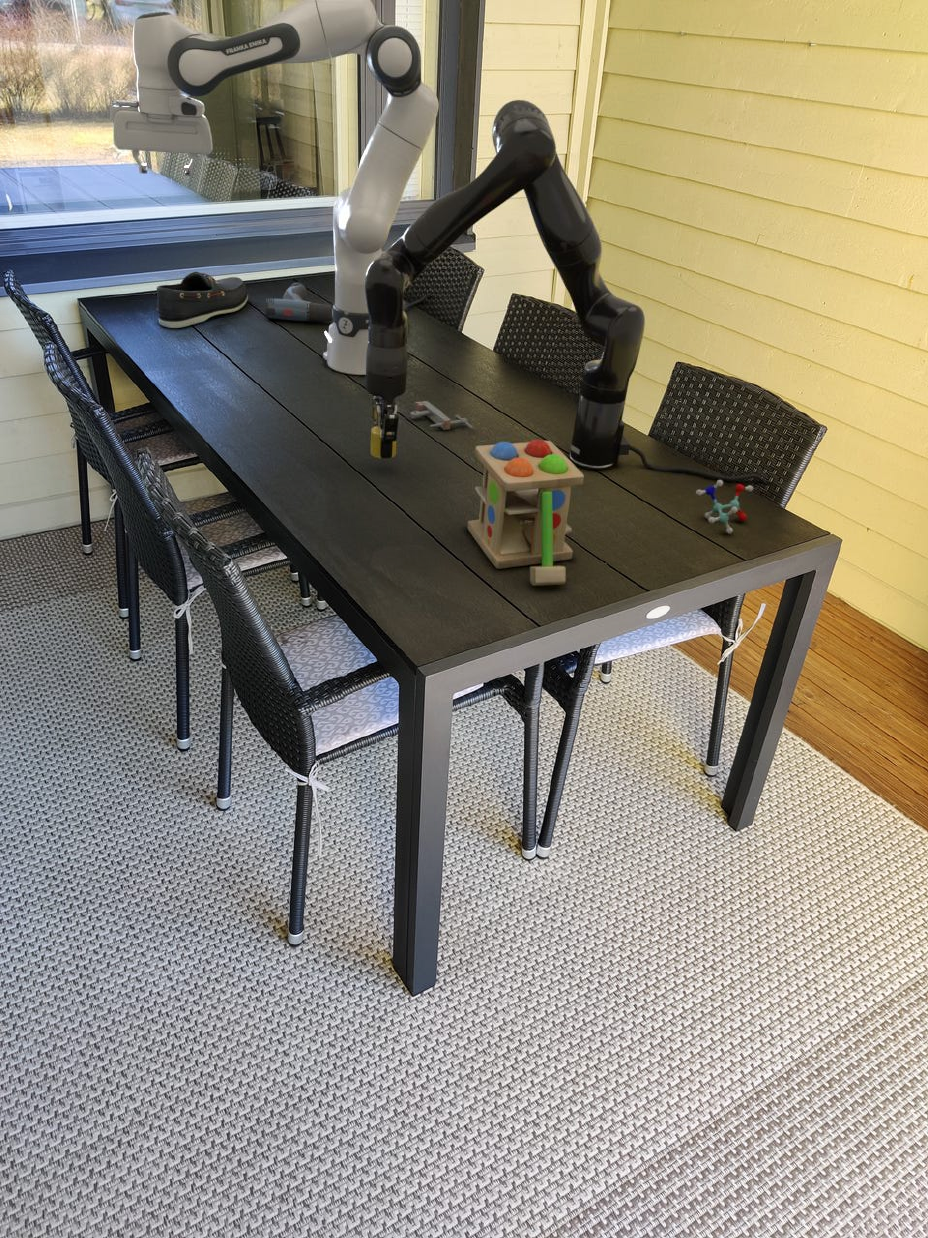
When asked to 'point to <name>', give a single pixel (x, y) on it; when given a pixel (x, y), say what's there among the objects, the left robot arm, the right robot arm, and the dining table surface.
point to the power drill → (297, 306)
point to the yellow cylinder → (377, 441)
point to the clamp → (436, 416)
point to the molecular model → (719, 507)
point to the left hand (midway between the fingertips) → (166, 174)
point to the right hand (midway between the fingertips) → (383, 450)
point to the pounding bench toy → (525, 507)
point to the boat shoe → (199, 299)
